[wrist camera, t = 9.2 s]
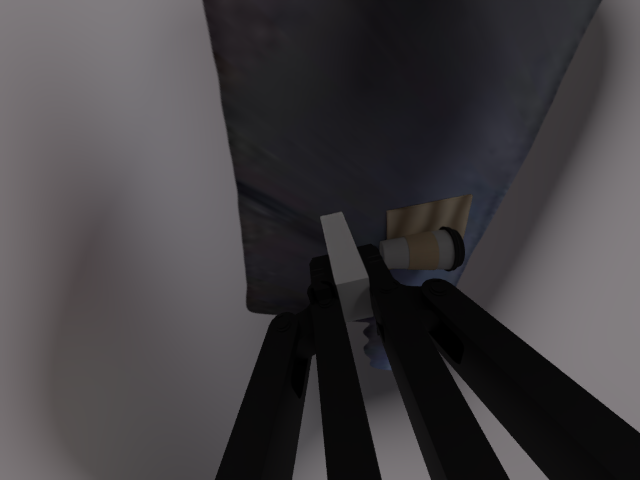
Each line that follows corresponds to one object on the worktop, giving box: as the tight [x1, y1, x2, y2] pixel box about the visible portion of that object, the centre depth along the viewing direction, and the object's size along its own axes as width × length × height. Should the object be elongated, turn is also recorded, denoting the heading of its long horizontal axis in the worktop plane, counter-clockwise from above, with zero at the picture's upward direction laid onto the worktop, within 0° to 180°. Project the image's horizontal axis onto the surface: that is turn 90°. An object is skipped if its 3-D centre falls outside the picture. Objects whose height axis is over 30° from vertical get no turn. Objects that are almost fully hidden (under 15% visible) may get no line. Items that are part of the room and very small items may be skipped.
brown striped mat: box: [387, 194, 473, 270], centre depth 52 cm, size 18×16×1 cm
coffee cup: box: [380, 226, 465, 271], centre depth 49 cm, size 9×9×15 cm
